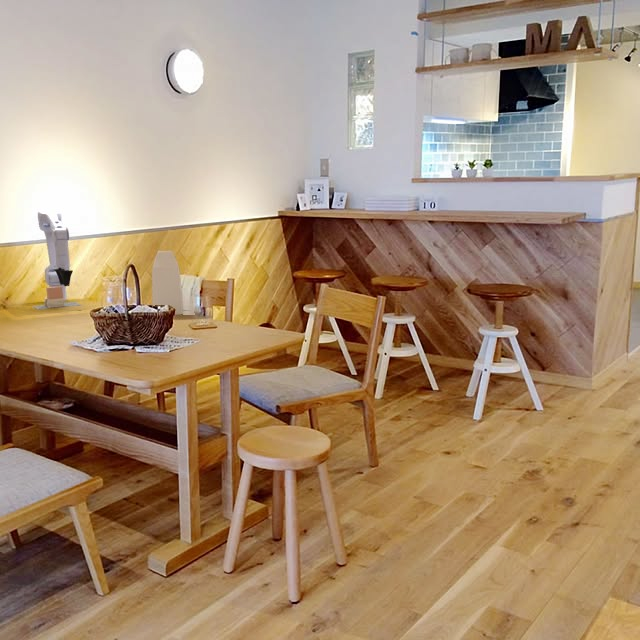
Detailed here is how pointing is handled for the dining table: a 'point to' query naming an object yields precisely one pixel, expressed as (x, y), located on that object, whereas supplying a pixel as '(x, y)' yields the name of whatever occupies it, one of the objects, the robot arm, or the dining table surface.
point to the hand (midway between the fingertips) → (64, 285)
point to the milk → (167, 281)
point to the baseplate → (57, 307)
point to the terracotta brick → (54, 292)
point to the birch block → (54, 302)
